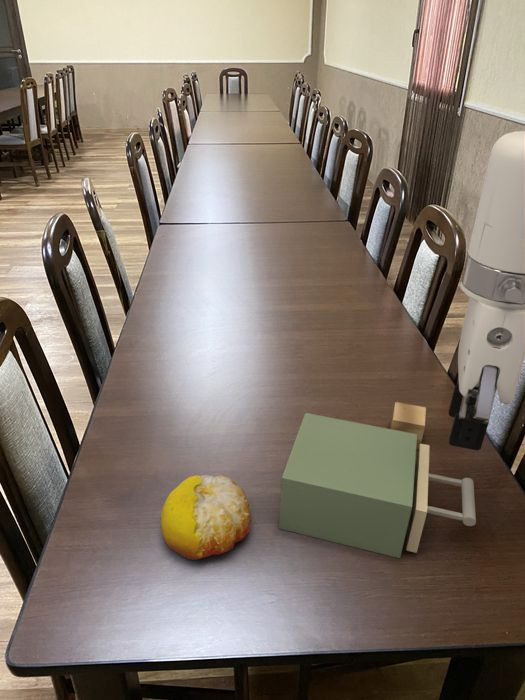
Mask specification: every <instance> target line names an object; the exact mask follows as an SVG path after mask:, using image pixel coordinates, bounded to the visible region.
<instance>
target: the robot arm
mask: <svg viewBox="0 0 525 700" xmlns="http://www.w3.org/2000/svg"><path fill="white" fill-rule="evenodd" d="M459 288H460V290H461V291H462V292H464V294H465V295H466V296H468V301H467V305H466V310H465V314H464V317H463V321H462V327H461V331H460V337H459V343H458V350H457V369H458V370H457V373H458V375H457V384H455V385H454V388H453V392H452V396H451V400H450V404H449V409H448V416H450V417H451V418H453V421H452V426H451V429H450V434H449V438H448V444H449V445H450V446H452V447H458V448H462V449H466V450H467V449H468V450H472V451H480V450H481V449H482V446H483V443H484V439H485V436H486V434H487V430H488V426H489V423H490V418H491V414H492V410H493V406H494V403H495V402H494V401H495V397H496V394H497V395H498V400H499V403H500V404H504V405H506V406H507V405H510V404H511V403H512V402H513V401H514V399H515V395H516V391H517V388H518V383H519V380H520V376H521V374H522V373H521V372H522V369H523V366H524V362H525V130H518V131H517V130H516V131H512V132H507V133H505V134H504V135H501V136H500V137H499V138H498V139H497V140H496V141H495V143H494V144H493V146H492V148H491V150H490V154H489V158H488V161H487V167H486V171H485V174H484V179H483V184H482V189H481V193H480V197H479V202H478V205H477V210H476V214H475V219H474V223H473V228H472V232H471V237H470V240H469V244H468V248H467V252H466V257H465V262H464V265H463V270H462V274H461V279H460V285H459Z"/></svg>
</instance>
